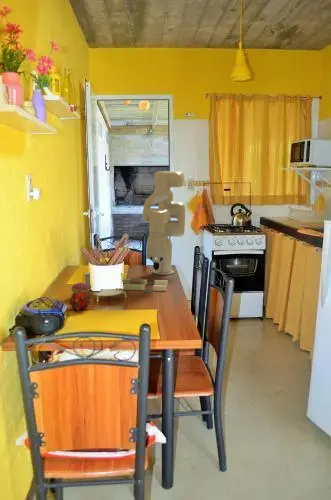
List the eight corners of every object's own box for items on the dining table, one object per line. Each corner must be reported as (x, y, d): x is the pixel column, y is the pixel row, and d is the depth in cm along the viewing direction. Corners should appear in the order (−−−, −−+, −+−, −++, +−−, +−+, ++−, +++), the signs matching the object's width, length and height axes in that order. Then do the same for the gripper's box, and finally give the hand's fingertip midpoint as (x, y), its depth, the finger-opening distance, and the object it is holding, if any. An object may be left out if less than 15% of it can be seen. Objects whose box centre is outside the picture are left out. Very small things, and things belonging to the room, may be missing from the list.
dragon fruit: (87, 308, 185) (76, 320, 174) (72, 296, 185) (60, 308, 174) (97, 294, 182) (87, 306, 171) (82, 283, 182) (70, 294, 171)
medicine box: (102, 289, 211) (102, 272, 209) (100, 292, 206) (100, 274, 205) (87, 289, 212) (87, 272, 210) (84, 291, 207) (84, 274, 206)
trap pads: (147, 282, 228) (147, 281, 228) (155, 282, 228) (155, 282, 228) (143, 292, 207) (143, 291, 207) (151, 292, 207) (151, 292, 207)
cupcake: (83, 294, 201) (83, 270, 199) (93, 298, 195) (93, 273, 193) (67, 297, 195) (67, 272, 193) (78, 301, 189) (77, 275, 187)
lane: (120, 283, 224) (120, 278, 224) (167, 285, 223) (167, 280, 223) (116, 289, 212) (116, 284, 212) (166, 291, 211) (166, 286, 211)
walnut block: (131, 285, 221) (131, 278, 220) (140, 286, 220) (141, 278, 220) (129, 288, 216) (129, 280, 215) (139, 288, 215) (139, 280, 215)
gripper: (171, 234, 216) (171, 268, 220) (142, 233, 217) (142, 267, 221) (171, 236, 209) (170, 272, 213) (141, 235, 210) (141, 271, 214)
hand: (156, 269), depth 217 cm, fingers closed
